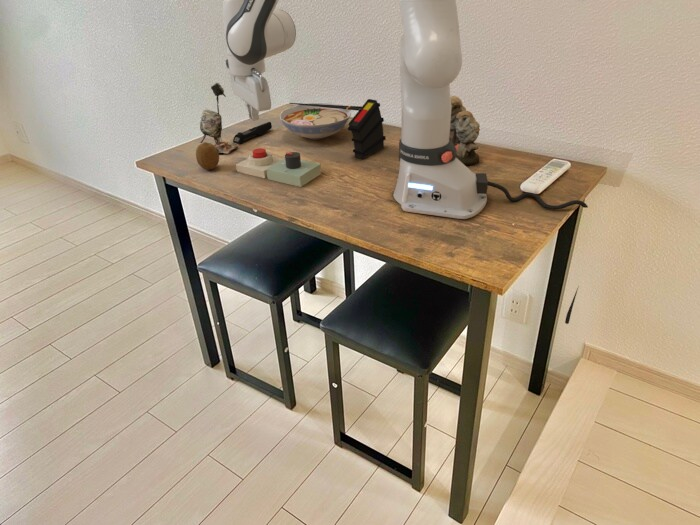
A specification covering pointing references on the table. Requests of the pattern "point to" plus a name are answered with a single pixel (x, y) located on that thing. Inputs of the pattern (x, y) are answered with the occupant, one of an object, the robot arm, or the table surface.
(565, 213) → the table surface
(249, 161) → the switch box
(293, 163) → the dial
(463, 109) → the owl figurine
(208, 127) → the grey mottled tall figure
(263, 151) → the power button
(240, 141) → the electric trimmer
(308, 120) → the ramen bowl
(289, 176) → the dial panel
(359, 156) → the magazine
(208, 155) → the fruit
